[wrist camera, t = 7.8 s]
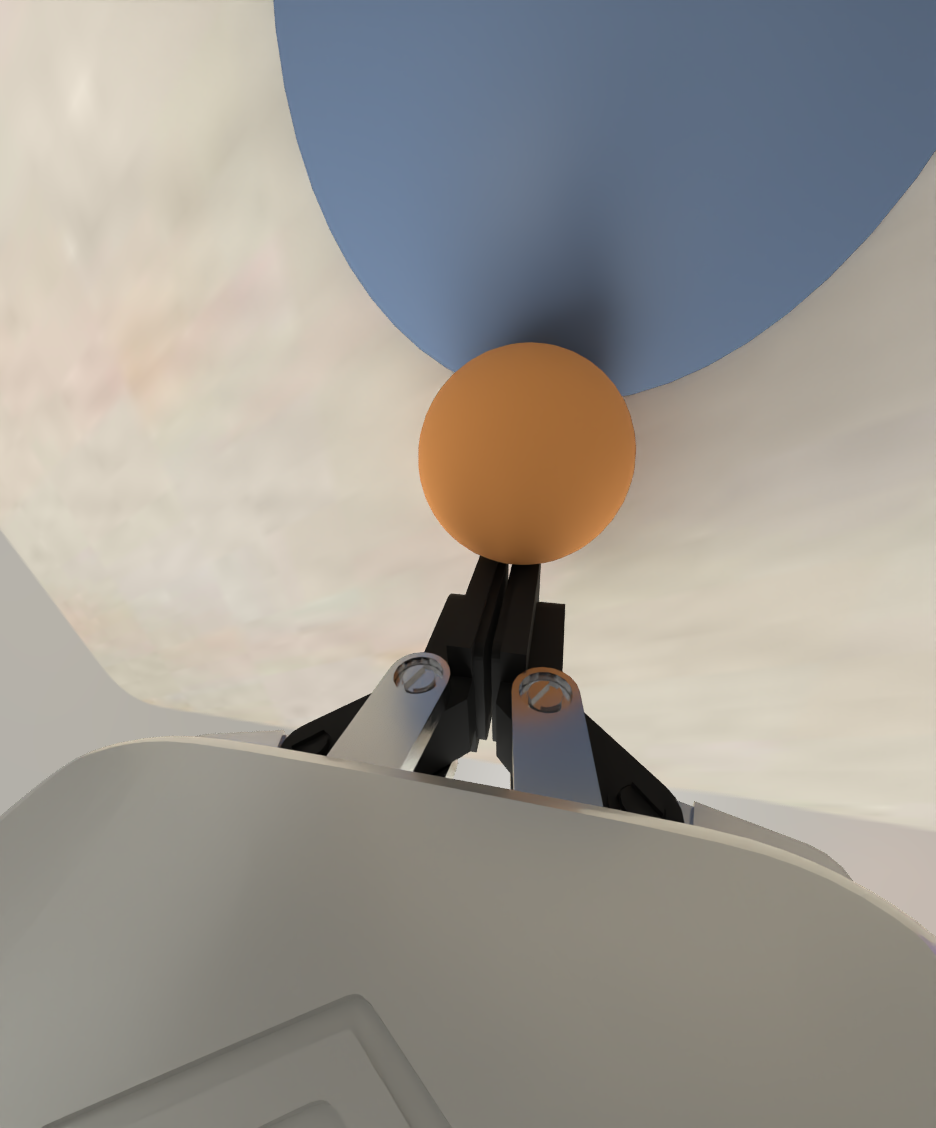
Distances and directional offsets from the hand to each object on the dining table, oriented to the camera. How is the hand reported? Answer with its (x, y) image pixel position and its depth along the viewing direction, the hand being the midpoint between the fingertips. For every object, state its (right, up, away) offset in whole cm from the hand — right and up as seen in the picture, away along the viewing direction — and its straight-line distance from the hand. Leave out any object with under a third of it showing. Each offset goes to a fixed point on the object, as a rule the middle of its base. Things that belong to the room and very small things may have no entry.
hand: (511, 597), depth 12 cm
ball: (0, +3, -2) cm, 4 cm away
